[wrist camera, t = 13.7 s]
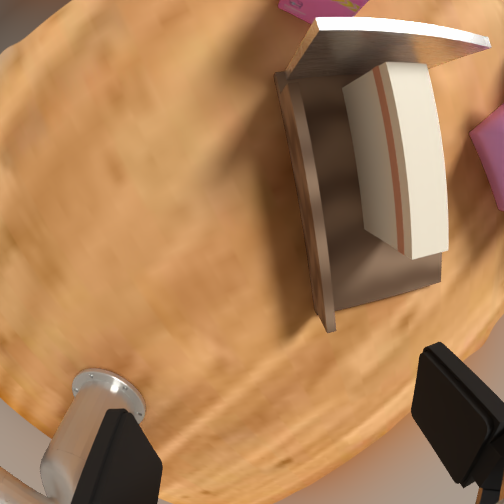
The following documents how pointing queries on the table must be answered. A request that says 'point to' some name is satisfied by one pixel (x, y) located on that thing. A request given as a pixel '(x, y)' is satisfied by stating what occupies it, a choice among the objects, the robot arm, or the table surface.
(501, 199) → the teapot
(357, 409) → the table surface
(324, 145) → the walnut shelf
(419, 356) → the robot arm
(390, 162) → the cream book
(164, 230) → the table surface
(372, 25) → the bookend
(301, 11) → the gum box
